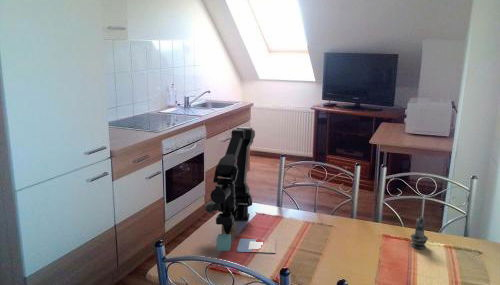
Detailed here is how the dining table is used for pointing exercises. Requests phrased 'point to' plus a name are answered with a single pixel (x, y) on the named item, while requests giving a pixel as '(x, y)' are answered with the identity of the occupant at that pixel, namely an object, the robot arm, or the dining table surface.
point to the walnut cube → (230, 230)
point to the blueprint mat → (248, 245)
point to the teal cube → (224, 242)
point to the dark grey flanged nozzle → (419, 235)
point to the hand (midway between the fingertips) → (228, 231)
